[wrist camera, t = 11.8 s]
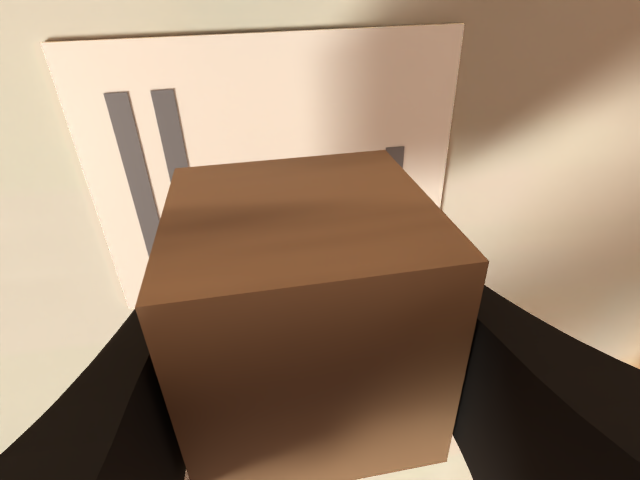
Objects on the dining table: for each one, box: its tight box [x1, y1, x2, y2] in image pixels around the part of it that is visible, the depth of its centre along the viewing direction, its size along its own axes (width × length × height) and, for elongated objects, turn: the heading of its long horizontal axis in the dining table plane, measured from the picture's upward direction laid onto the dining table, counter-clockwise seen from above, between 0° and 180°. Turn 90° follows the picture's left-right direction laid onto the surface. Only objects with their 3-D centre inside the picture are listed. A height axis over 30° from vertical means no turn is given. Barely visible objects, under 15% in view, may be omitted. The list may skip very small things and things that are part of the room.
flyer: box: [40, 23, 465, 309], centre depth 16 cm, size 10×13×1 cm
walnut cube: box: [135, 150, 489, 480], centre depth 9 cm, size 5×5×5 cm
